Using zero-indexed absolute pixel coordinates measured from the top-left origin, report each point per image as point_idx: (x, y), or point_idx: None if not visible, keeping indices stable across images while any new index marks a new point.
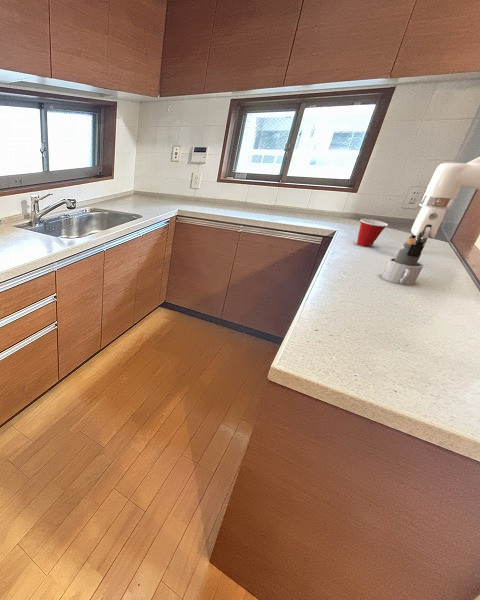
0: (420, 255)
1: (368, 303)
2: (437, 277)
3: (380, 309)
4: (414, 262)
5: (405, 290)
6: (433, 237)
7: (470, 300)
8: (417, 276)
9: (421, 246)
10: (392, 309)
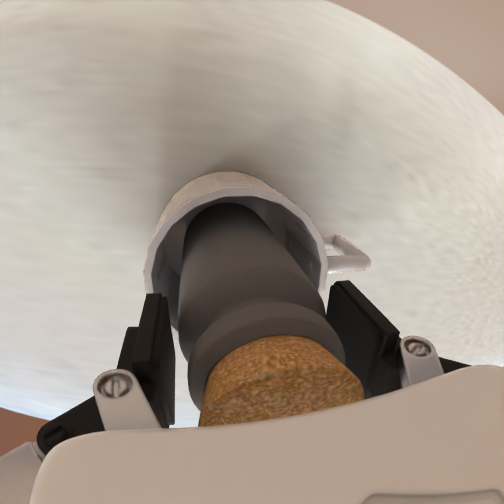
0: (280, 261)
1: (482, 308)
2: (39, 69)
3: (499, 287)
4: (292, 257)
5: (367, 221)
6: (498, 367)
7: (341, 13)
8: (266, 184)
9: (389, 343)
10: (497, 267)
